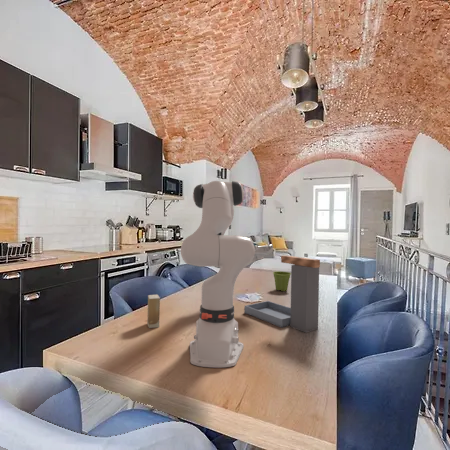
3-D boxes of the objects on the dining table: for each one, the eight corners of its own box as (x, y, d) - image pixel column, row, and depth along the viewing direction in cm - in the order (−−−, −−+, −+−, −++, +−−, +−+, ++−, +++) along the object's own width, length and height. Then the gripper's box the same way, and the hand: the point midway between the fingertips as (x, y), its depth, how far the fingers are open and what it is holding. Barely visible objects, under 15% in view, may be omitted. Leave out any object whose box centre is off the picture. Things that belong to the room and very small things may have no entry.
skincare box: (147, 323, 124) (147, 294, 124) (157, 322, 126) (157, 294, 126) (148, 328, 118) (149, 298, 118) (159, 327, 120) (160, 297, 120)
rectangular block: (281, 262, 131) (281, 255, 131) (285, 261, 133) (285, 255, 133) (315, 267, 117) (315, 260, 117) (319, 267, 118) (319, 259, 118)
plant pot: (271, 291, 187) (271, 273, 187) (274, 287, 198) (274, 270, 198) (289, 293, 183) (290, 275, 183) (291, 289, 194) (292, 272, 194)
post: (290, 326, 123) (291, 265, 123) (302, 322, 128) (303, 263, 128) (305, 332, 117) (307, 267, 117) (318, 328, 122) (319, 266, 122)
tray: (244, 312, 141) (244, 305, 141) (268, 307, 151) (268, 300, 151) (282, 327, 122) (282, 319, 122) (306, 320, 131) (306, 312, 131)
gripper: (230, 250, 146) (246, 241, 136) (260, 248, 158) (277, 239, 148) (233, 262, 144) (250, 254, 134) (263, 259, 156) (281, 251, 146)
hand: (264, 246), depth 141 cm, fingers open, 8 cm apart
